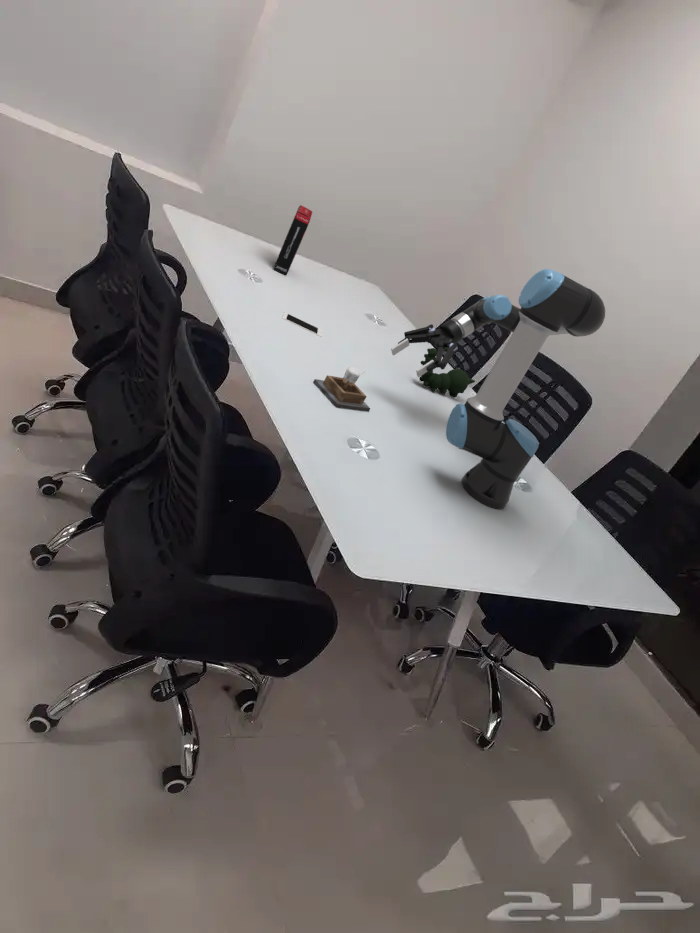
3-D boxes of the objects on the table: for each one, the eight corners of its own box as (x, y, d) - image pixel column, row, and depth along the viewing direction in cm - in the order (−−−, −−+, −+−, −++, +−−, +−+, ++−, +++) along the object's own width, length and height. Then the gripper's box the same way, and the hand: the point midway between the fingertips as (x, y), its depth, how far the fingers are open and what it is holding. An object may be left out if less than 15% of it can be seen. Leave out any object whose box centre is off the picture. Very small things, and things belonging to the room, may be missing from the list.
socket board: (368, 411, 227) (374, 400, 225) (335, 407, 217) (341, 395, 216) (345, 387, 235) (351, 376, 234) (313, 382, 226) (318, 370, 224)
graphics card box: (286, 276, 314) (312, 218, 302) (271, 269, 312) (297, 210, 300) (289, 267, 329) (314, 211, 317) (275, 260, 327) (299, 204, 315)
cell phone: (321, 338, 267) (322, 336, 267) (281, 319, 264) (282, 317, 264) (322, 331, 274) (323, 330, 274) (283, 313, 271) (284, 311, 271)
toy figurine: (416, 392, 270) (470, 405, 281) (437, 348, 261) (492, 363, 272) (407, 380, 277) (461, 393, 288) (427, 337, 268) (482, 351, 279)
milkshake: (349, 400, 224) (363, 373, 220) (334, 392, 224) (348, 364, 219) (352, 396, 228) (366, 369, 224) (337, 388, 228) (351, 361, 224)
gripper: (482, 356, 231) (429, 391, 226) (434, 319, 245) (384, 351, 241) (480, 339, 225) (426, 375, 220) (431, 302, 239) (380, 335, 235)
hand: (404, 362), depth 231 cm, fingers open, 13 cm apart
